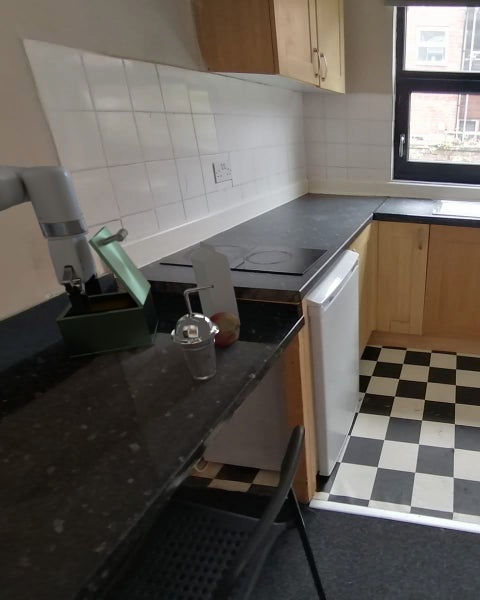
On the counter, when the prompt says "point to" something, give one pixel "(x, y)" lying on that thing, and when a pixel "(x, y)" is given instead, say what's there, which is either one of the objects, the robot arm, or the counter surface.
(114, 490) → the counter surface
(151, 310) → the dark green storage bin
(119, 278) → the bin lid
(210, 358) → the cup with straw
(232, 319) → the fruit
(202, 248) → the milk
